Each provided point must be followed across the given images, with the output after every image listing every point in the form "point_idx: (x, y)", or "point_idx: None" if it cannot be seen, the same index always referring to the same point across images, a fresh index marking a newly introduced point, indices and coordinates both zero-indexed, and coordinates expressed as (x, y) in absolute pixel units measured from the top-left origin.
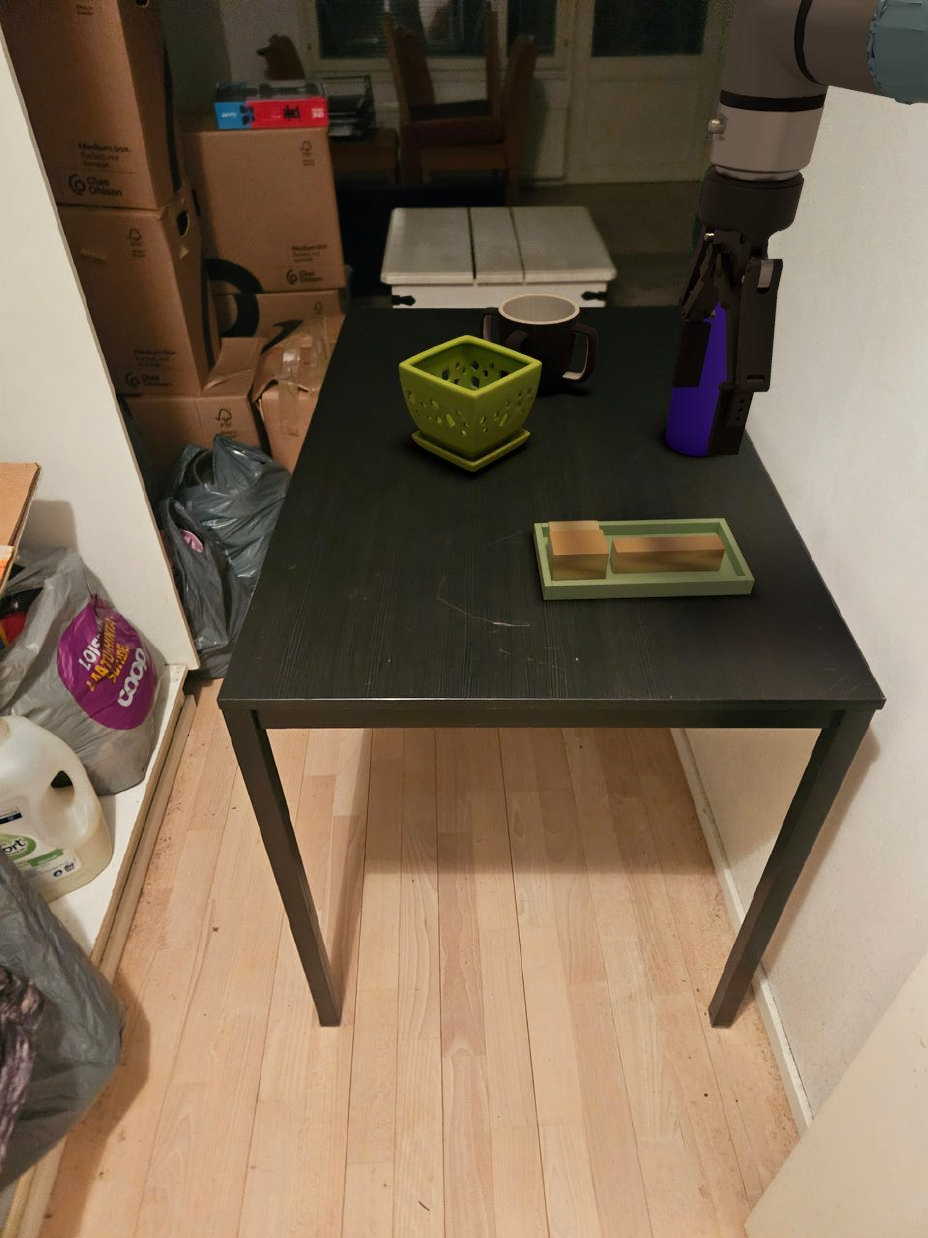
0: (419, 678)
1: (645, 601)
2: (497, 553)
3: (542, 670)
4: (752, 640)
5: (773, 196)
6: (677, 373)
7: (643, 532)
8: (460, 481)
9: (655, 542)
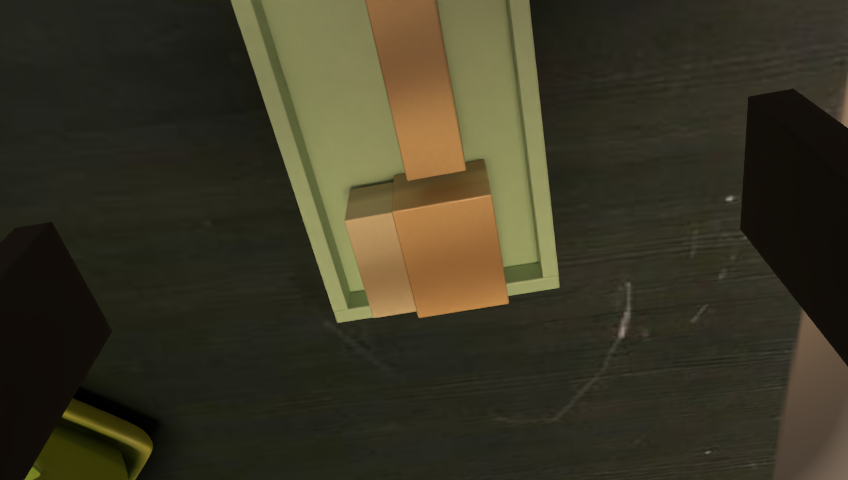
0: (751, 413)
1: (545, 63)
2: (411, 353)
3: (754, 253)
4: None
5: None
6: (75, 374)
7: (281, 73)
8: (176, 437)
9: (408, 74)
